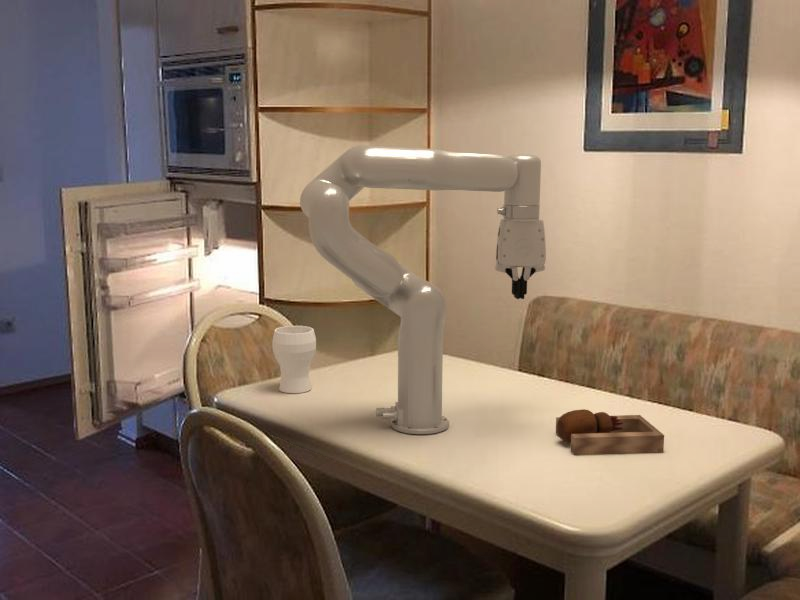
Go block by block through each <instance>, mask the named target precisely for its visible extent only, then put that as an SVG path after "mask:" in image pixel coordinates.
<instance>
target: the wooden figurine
mask: <svg viewBox="0 0 800 600" xmlns="http://www.w3.org/2000/svg"><path fill="white" fill-rule="evenodd" d="M617 416H618V415H609V414H608V413H607V412H604V411H600V412H595V413H593V412H592V411H590V410H589V409H584V408H583V409H574V410H571V411H570V410H569V411H567V412H565V413H563V414H561V416H559V417H560V418H559V419H558V423H557V431H558V435H559V437H558V438H559V439H560V440H561V441H563V442H566V443H570V444H571V434H589V433H610V432H611V431H615V430H621V429H623V428H621V427H616V426H617V425H620V424H623V423H622V422H618V421H620V420H619V419H617V418H618V417H617ZM558 435H557V436H558Z"/></svg>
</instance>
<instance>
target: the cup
mask: <svg viewBox="0 0 800 600" xmlns="http://www.w3.org/2000/svg"><path fill="white" fill-rule="evenodd" d="M315 333H316V332H315V330H314V328H313V327H311V326H305V325H285V326H281V327H279V326H278V327H277V328H275V329H274V332H273V336H272V352H273V354H274V357H275V360H276V361H277V364H278V366H279V371H280V381H279V388H278V389H279V391H280V392H282V393H286V394H301V393H307V392H309V391H310V390H311V389H312V387H311V386H312V385H311V379H310V375H309V373H310V366H311V363H312V362H313V359H314V357H315V353H316V349H317V337H316V334H315Z"/></svg>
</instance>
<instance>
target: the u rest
mask: <svg viewBox="0 0 800 600" xmlns="http://www.w3.org/2000/svg"><path fill="white" fill-rule="evenodd" d="M616 416H617V417H618V418H617V419H619V420H620V421H618V422H622V423H623V424H620V425H617V426H616V427H621V428H623V429H621V430H615V431H611V432H610V433H589V434H571V443H570V452H571V453H572V454H573V456H580V455H582V456H583V455H585V456H586V455H612V454H613V455H616V454H620V455H621V454H645V453H664V445H665V434H664V433H662V432H661V431H660V430H659V429H657V427H655V426H654V425H653V424H651V423H650V422H649V421H648V420H647V419H645V417H643V416H642V415H640V414H631V415H630V414H627V415H626V414H625V415H623V414H622V415H616ZM560 417H561V416H556V417H555V434H556V435H557V437H558V438H560V437H559V435H558V431H557V423H558V419H559V418H560Z"/></svg>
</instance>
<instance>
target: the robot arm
mask: <svg viewBox="0 0 800 600" xmlns="http://www.w3.org/2000/svg"><path fill="white" fill-rule="evenodd" d="M541 173H542V161H541V158H540V157H539V156H537V155H534V154H533V155H532V154H512V155H508V156H507V155H505V154H497V153H472V152H471V153H470V152H456V151H449V150H443V149H436V148H427V147H409V146H407V147H405V146H390V145H389V146H388V145H387V146H386V145H363V144H360V145H354V146H351V147H350V148H348V149H347V150H346V151H345V152H343V153H342V154H341V155H340V156H338V157H337V158H336V159H335V160H334V161H333V162H331V164H329V165H328V166H327V167H326V168H325V169H324V170H322V171H321V172H320V173H319V174H318V175H317V176H316V177H314V178H313V179H312V180H311V181H310V182H309V183H308V184H307V185H306V186H305V187H304V188H303V190H302V192H301V194H300V198H299V205H300V209H301V210H302V213H303V214H304V215H305V216H306V217H307V218H308V232H309V237H310V240H311V242H312V244H313V247H314V249H315V250H316V251H317V253H318V254H319V255H320V256H321V257H322V258H323V259H324V260H325V261H327V262H328V263H329V264H330V265H331V266H333V267H334V268H335V269H337V270H338V271H340V272H341V273H342V274H344V275H345V276H346V277H347V278H348V279H351V281H352V283H353V284H354V285H355V286H356V287H357V288H359V289H360V290H361V291H363V292H365V294H367V295H368V296H370V297H371V298H373V299H375V301H376V302H379V303H380V304H382V305H383V306H384V307H386V308H387V309H389V310H390V311H392V312H393V313H395V314H396V315H397V316H398V317H400V325H399V330H398V340H397V361H398V362H397V369H398V370H397V402H396V401H395V402H394V405H391V406H390V407H376V409H375V413H376V415H375V416H376V417H377V418H378V417H382V419H383V420H387V419H390V427H391V428H392V429H393V430H395V431H397V432H400V433H405V434H411V435H431V434H438V433H441V432H443V431H445V430H447V429H448V428H449V426H450V420H449V419H448V418H447V417H446V416H444V415H443V414H442V413H443V357H444V356H443V355H444V354H443V350H444V349H443V347H444V346H443V345H444V343H443V342H444V329H445V324H446V318H447V301H446V297H445V296H444V294H443V292H442V290H441V289H440V288H439V287H438V286H436V285H435V284H433V283H432V282H430V281H428V280H426V279H424V278H422V277H419V276H418V275H417V274H415V273H414V272H412V271H411V270H409V269H408V268H407V267H405V266H404V265H402V264H401V263H400V262H399V260H397V259H396V258H395V256H393V255H392V254H391V253H389V252H388V251H385V250H384V249H381V248H380V247H378V246H376V245H375V244H374V243H372V242H371V241H370V240H368V239H367V238H366V237H364V236H363V235H362V234H361V233H360V232H359V231H357V230H356V229H355V228H354V227H353V226H352V224H351V222H350V218H349V217H350V216H349V215H350V201H351V200H352V199H353V198H354V197H356V196H357V195H358V194H359V193H360V192H362V190H363V189H364V188H367V189H392V190H394V189H395V190H416V191H417V190H418V191H435V192H436V191H467V192H468V191H470V192H492V193H493V192H494V193H500V192H504V193H503V195H504V197H503V199H504V200H503V205H502V207H497V209H496V210H497V211H496V213H497V215H501V216H502V217H503V218H501V219H500V223H499V226H498V227H499V228H498V232H497V238H496V239H497V240H496V247H495V248H496V249H495V260H496V263H495V266H494V269H495V271H496V272H500V273H505V274H506V275H508V277H509V278H511V295H513V297H514V298H515V299H516V300H524V299H525V295H527V293H528V281H529V280H530V278H531V277H532V276H533V275H534V274H535V273H539V272H544V271H545V270H546V266H545V264H546V259H547V253H546V252H547V250H546V249H547V248H546V233H545V224H544V220H542V219H540V205H541V204H540V199H541V177H542V176H541ZM518 268H521V272H520V273H521V274H520V276H519V271H518V270H519V269H518Z"/></svg>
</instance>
